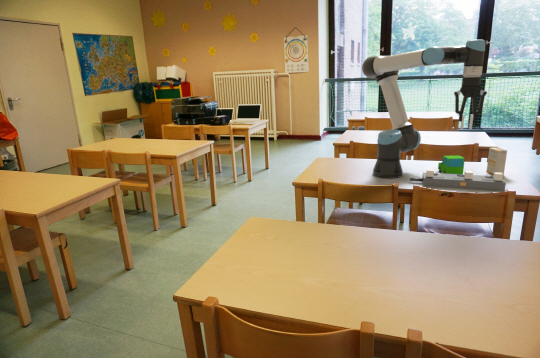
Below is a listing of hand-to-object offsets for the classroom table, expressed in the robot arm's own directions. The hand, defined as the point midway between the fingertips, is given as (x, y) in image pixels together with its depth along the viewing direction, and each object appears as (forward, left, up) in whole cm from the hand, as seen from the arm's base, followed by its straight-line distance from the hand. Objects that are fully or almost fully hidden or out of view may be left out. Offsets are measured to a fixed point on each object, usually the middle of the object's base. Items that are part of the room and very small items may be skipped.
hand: (466, 128), depth 170 cm
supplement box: (+19, +21, -27) cm, 39 cm away
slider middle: (+2, -7, -23) cm, 24 cm away
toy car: (-3, +16, -27) cm, 31 cm away
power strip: (-3, -4, -27) cm, 27 cm away
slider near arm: (-14, -7, -23) cm, 27 cm away
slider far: (+14, -7, -23) cm, 27 cm away
